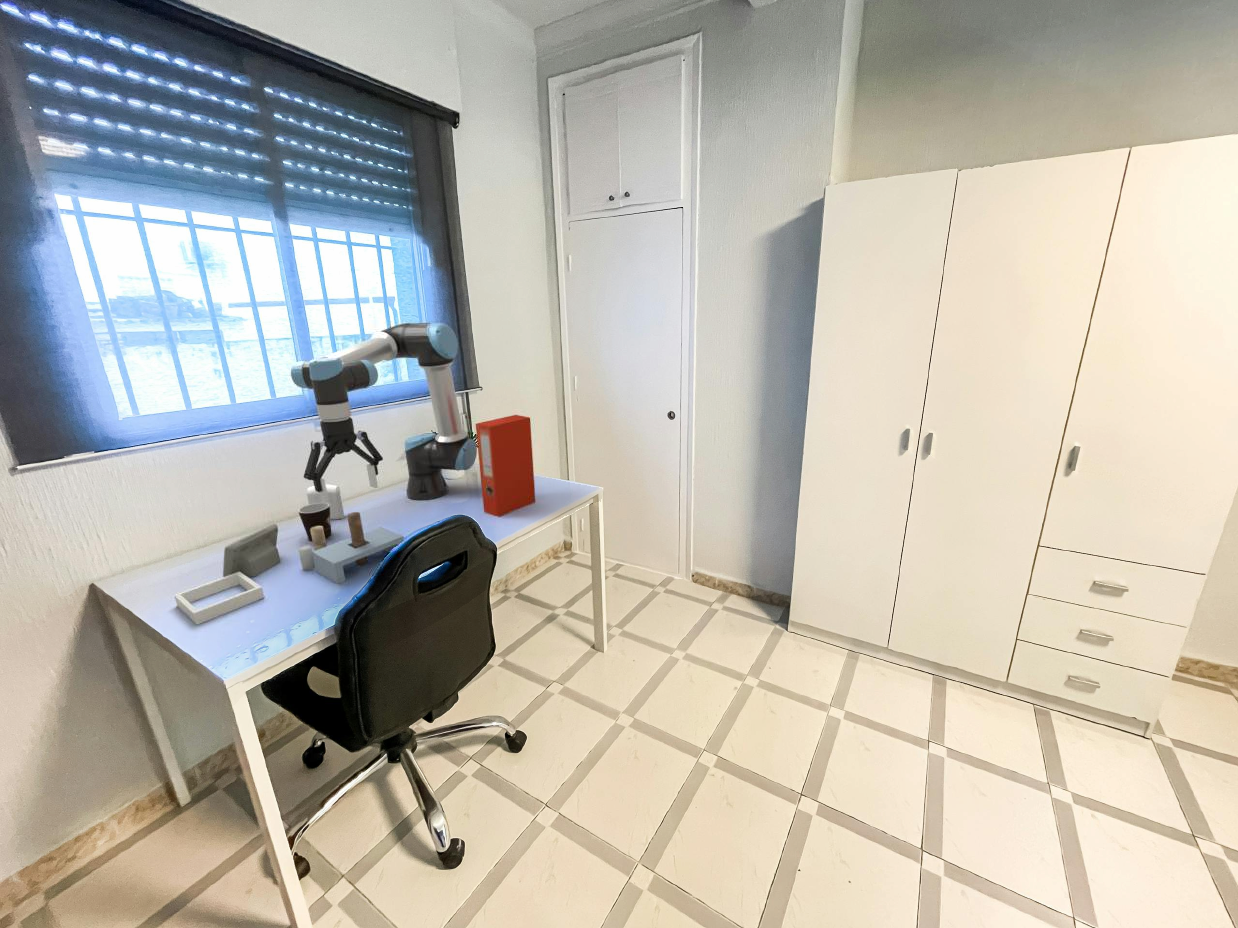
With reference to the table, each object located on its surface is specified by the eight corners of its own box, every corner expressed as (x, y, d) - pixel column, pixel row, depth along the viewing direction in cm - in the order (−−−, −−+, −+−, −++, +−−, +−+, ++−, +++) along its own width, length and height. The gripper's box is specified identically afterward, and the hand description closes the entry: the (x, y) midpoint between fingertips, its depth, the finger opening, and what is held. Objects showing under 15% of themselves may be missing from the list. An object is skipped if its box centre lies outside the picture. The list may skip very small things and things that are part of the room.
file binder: (536, 502, 190) (530, 417, 180) (498, 517, 177) (490, 426, 168) (521, 497, 195) (514, 414, 185) (484, 512, 182) (475, 423, 172)
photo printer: (346, 515, 182) (340, 481, 178) (341, 519, 178) (335, 486, 174) (315, 517, 180) (308, 483, 177) (310, 521, 176) (302, 487, 173)
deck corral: (242, 581, 138) (239, 571, 137) (264, 597, 130) (261, 586, 130) (177, 605, 128) (173, 594, 127) (197, 624, 120) (193, 613, 119)
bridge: (383, 544, 158) (380, 526, 157) (406, 554, 152) (403, 536, 150) (316, 571, 143) (311, 551, 141) (337, 583, 136) (333, 563, 134)
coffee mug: (321, 543, 160) (315, 513, 157) (298, 541, 161) (291, 512, 158) (347, 528, 170) (342, 500, 168) (325, 526, 172) (319, 498, 169)
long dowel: (364, 559, 149) (356, 511, 145) (370, 562, 148) (362, 513, 143) (353, 563, 147) (344, 514, 142) (359, 566, 145) (350, 517, 141)
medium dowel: (325, 552, 154) (319, 524, 151) (330, 555, 152) (324, 527, 149) (314, 556, 151) (308, 528, 149) (319, 559, 150) (313, 531, 147)
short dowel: (312, 563, 147) (308, 544, 146) (317, 566, 146) (313, 547, 144) (300, 568, 145) (296, 548, 143) (305, 571, 143) (301, 551, 141)
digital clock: (274, 553, 154) (266, 520, 151) (294, 558, 151) (287, 525, 148) (215, 578, 140) (205, 543, 137) (236, 585, 137) (226, 549, 133)
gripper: (373, 408, 146) (385, 478, 153) (277, 426, 127) (295, 506, 134) (388, 411, 142) (399, 483, 149) (291, 430, 123) (309, 512, 130)
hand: (350, 494), depth 141 cm, fingers open, 13 cm apart
